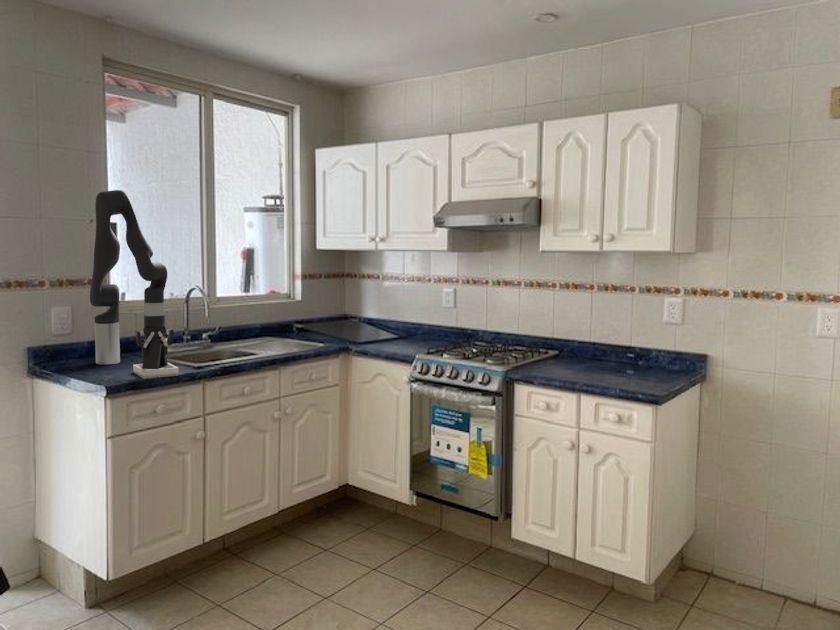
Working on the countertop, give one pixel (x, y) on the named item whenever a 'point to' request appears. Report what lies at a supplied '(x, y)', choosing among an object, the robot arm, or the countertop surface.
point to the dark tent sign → (155, 355)
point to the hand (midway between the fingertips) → (155, 356)
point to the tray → (156, 371)
